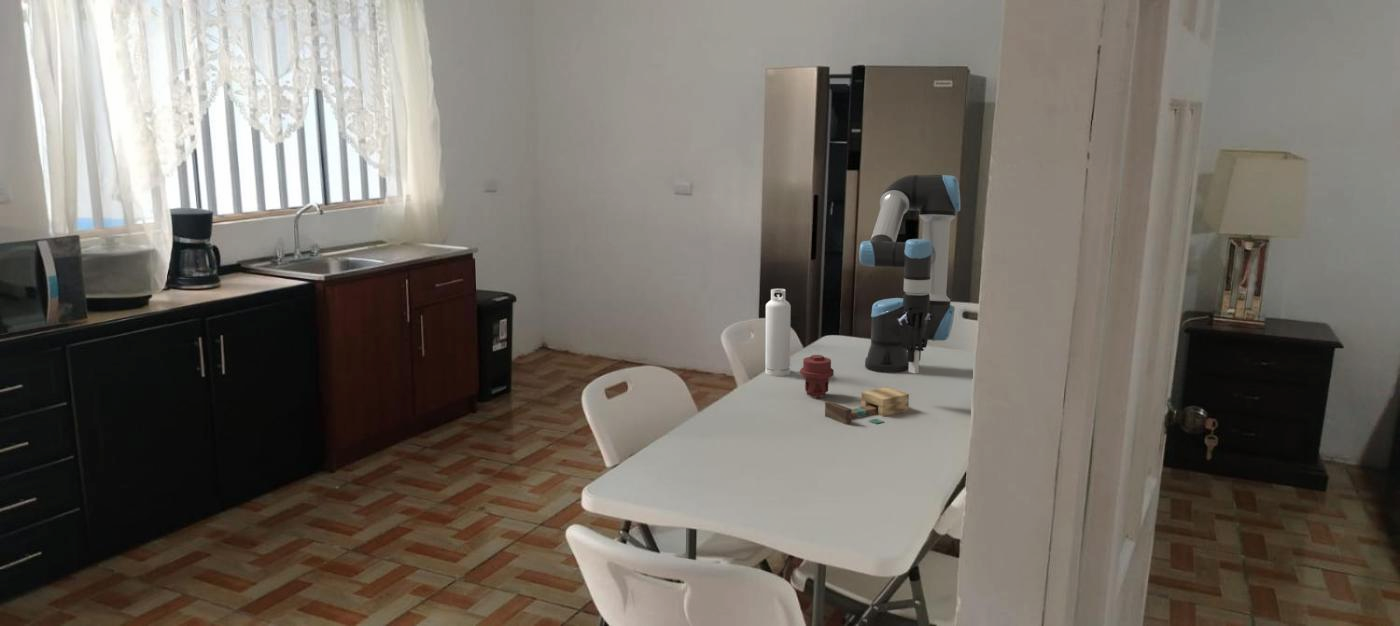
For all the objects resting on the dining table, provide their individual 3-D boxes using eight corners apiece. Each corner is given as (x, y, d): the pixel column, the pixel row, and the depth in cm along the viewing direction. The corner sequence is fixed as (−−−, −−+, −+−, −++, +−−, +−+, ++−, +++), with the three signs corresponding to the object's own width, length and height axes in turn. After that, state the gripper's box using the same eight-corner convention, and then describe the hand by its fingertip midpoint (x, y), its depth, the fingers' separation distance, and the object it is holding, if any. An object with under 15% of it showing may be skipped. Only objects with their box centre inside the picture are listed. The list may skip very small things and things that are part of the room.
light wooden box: (886, 403, 288) (887, 386, 287) (908, 410, 280) (908, 394, 279) (861, 408, 283) (861, 392, 282) (882, 416, 275) (882, 399, 274)
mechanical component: (831, 390, 301) (834, 400, 291) (798, 391, 301) (801, 400, 291) (831, 352, 298) (835, 360, 288) (799, 352, 298) (801, 360, 289)
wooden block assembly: (879, 398, 292) (879, 385, 291) (922, 413, 277) (922, 400, 276) (815, 412, 279) (815, 398, 279) (856, 428, 264) (856, 414, 264)
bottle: (789, 369, 326) (790, 287, 320) (789, 376, 318) (790, 292, 312) (765, 369, 327) (766, 287, 321) (764, 375, 319) (765, 291, 313)
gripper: (923, 289, 287) (920, 366, 291) (890, 293, 280) (888, 372, 285) (942, 292, 281) (938, 372, 285) (909, 296, 274) (906, 378, 278)
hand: (913, 372), depth 285 cm, fingers closed
